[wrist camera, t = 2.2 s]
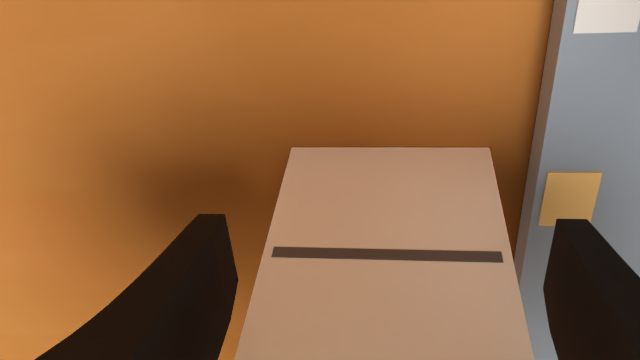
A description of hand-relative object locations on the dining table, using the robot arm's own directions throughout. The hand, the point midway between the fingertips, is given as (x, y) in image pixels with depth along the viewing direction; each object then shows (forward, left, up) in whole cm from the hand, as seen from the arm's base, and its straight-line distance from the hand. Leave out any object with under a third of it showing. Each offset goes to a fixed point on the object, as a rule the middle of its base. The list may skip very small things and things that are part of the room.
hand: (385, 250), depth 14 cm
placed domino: (0, 0, -3) cm, 3 cm away
